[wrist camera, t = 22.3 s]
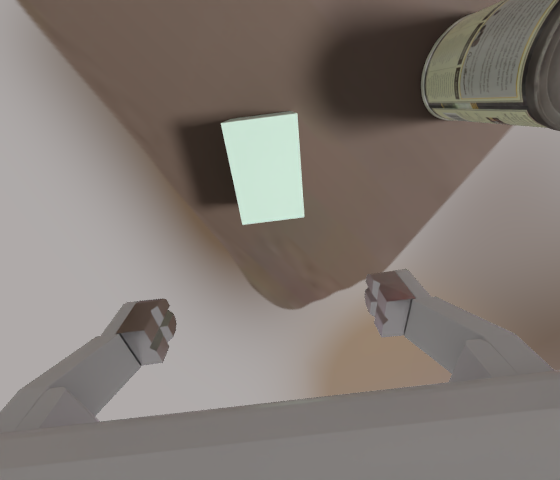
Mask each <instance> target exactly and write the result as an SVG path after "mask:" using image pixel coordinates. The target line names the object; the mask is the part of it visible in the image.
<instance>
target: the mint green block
mask: <svg viewBox="0 0 560 480" xmlns="http://www.w3.org/2000/svg"><path fill="white" fill-rule="evenodd" d="M221 127H222V132H223V136H224V141H225V146H226V150H227V155H228V160H229V164H230V169H231V174H232V178H233V183H234V188H235V192H236V197H237V202H238V206H239V211H240V216H241V220H242V225H245V224H253V223H261V222H269V221H277V220H285V219H293V218H301V217H304V205H303V191H302V176H301V161H300V146H299V132H298V117H297V113H295V112H292V111H288V112H280V113H273V114H265V115H257V116H250V117H242V118H234V119H229V120H227V121H225V122H222V123H221Z"/></svg>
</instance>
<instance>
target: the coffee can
mask: <svg viewBox="0 0 560 480" xmlns="http://www.w3.org/2000/svg"><path fill="white" fill-rule="evenodd" d="M421 93H422V98H423V102H424V104H425V106H426V108H427V109H428V111H429V112H430V113H431V114H432V115H434V116H435V117H437V118H440V119H443V120H459V121H469V122H483V123H496V124H508V125H520V126H532V127H545V128H550V129H553V130H558V131H560V0H503V1H501V2H498V3H496V4H494V5H492V6H489V7H487V8H485V9H483V10H481V11H478V12H476V13H472V14H469V15H467V16H465V17H463V18H461V19H460V20H458V21H457V22H455V23H454V24H453V25H451V26H450V27H449V28H448V29H447V30H446V31H445V32H444V33H443V34H442V35H441V36H440V38H439V39H438V40H437V41H436V43H435V44H434V46H433V48H432V50H431V51H430V53H429V55H428V57H427V59H426V62H425V65H424V68H423V72H422V78H421Z"/></svg>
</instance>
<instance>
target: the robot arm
mask: <svg viewBox="0 0 560 480" xmlns="http://www.w3.org/2000/svg"><path fill="white" fill-rule="evenodd" d="M366 283H367V285H368V288H367V289H366V290H365V302H366V306H367V309H368V311H369V313H370V314H371V315H372V316H374V317H375V321H374V323H375V325H376V327H377V329H378V331H379V333H380V335H381V337H390V336H401V335H404V336H405V337H406V338H407V339H408V340H410V341H411V342H412V343H414V344H415V345H416V346H417V347H419V348H420V349H421V350H423V351H424V352H425V353H426V354H428V355H429V356H430V357H431V358H433V359H434V360H435V361H437V362H438V363H439V364H440V365H442V366H443V367H444V368H445V369H447V370H448V371H449V372H451V373H452V376H451V378H450V381H449V382H448V383H440V384H431V385H422V386H413V387H404V388H395V389H387V390H377V391H369V392H360V393H351V394H342V395H334V396H325V397H316V398H307V399H298V400H289V401H280V402H271V403H263V404H254V405H245V406H236V407H227V408H218V409H210V410H201V411H192V412H183V413H175V414H165V415H156V416H147V417H139V418H129V419H120V420H111V421H103V422H100V421H99V420H98V419H97V418H96V417H95V416H96V415H97V413H99V411H100V410H101V409H102V408H103V407H104V406H105V405H106V404H107V403H108V402H109V401H110V400H111V399H112V397H113V396H114V395H115V394H116V393H117V392H118V391H119V390H120V389H121V388H122V387H123V385H125V383H126V382H127V381H128V380H129V379H130V378H131V377H132V376H133V375H134V374H135V373H136V372H137V371H138V370H139V368H140V367H141V366H142V365H149V364H156V363H163V361H164V359H165V356H166V354H167V351H168V349H169V345H168V341H169V340H170V339H172V338H173V336H174V333H175V331H176V318H175V316H174V314H173V313H172V312H170V311H169V310H168V308H169V306H170V305H169V304H168V302H167V300H166V299H154V300H144V301H137V302H127V303H125V304H123V306H122V307H121V308H120V310H119V311H118V313H117V314H116V315H115V317H114V318H113V319H112V321H111V322H110V324H109V325H108V326H107V328H106V329H105V331H104V332H103V333H102V335H101V336H98V337H95V338H94V339H92V340H91V341H89V342H88V343H86V344H85V345H84V346H82V347H81V348H79V349H78V350H76V351H75V352H74V353H72V354H71V355H69V356H68V357H66V358H65V359H63V360H62V361H61V362H59V363H58V364H56V365H55V366H53V367H52V368H51V369H49V370H48V371H46V372H45V373H43V374H42V375H40V376H39V377H38V378H36V379H35V380H33V381H32V382H30V383H29V384H27V385H26V386H25V387H23V388H22V389H20V390H19V391H18V392H17V393H16V395H15V396H14V397H13V398H12V399H11V400H10V402H8V404H7V405H6V406H5V407H4V408H3V409H2V411H1V412H0V480H560V370H554V369H552V368H551V367H550V366H549V365H548V364H547V363H546V362H545V361H544V360H543V359H542V358H541V357H540V356H538V355H537V354H536V353H535V352H534V351H533V350H532V349H531V348H530V347H529V346H528V345H527V344H525V343H524V342H523V341H522V340H521V339H520V338H519V337H518V336H517V335H516V334H514V333H512V332H510V331H508V330H506V329H504V328H502V327H499V326H497V325H495V324H493V323H491V322H489V321H487V320H484V319H482V318H480V317H478V316H476V315H474V314H472V313H470V312H467V311H465V310H463V309H461V308H459V307H457V306H455V305H452V304H450V303H448V302H446V301H444V300H442V299H440V298H438V297H431V296H430V295H429V293H428V292H427V291H426V290H425V289H424V288H423V286H422V285H421V284H420V283H419V282H418V281H417V280H416V278H415V277H414V276H413V275H412V274H411V273H410V271H408V270H407V269H402V270H395V271H390V272H382V273H374V274H368V275H367V277H366Z"/></svg>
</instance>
